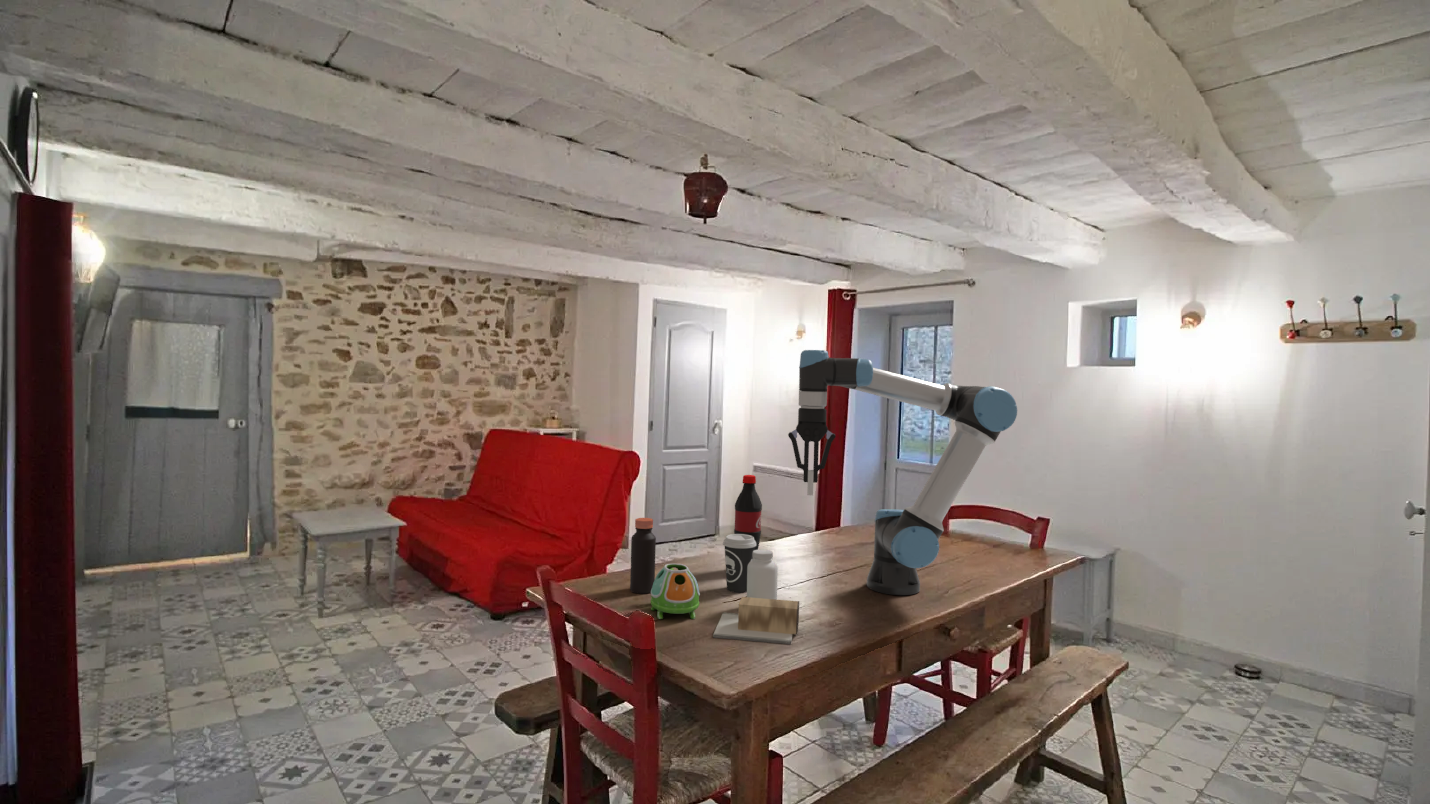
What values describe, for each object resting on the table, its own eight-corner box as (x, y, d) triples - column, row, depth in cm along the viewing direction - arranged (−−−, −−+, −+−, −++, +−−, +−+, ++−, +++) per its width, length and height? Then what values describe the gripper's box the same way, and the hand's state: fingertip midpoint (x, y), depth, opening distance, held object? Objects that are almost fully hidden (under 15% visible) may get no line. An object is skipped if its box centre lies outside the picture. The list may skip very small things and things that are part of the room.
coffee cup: (752, 595, 201) (754, 542, 200) (718, 592, 202) (720, 539, 202) (757, 586, 210) (759, 534, 209) (724, 583, 212) (726, 532, 211)
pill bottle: (744, 603, 194) (746, 547, 193) (774, 603, 194) (775, 547, 194) (748, 613, 186) (750, 555, 185) (779, 613, 187) (781, 555, 186)
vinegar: (659, 590, 203) (661, 519, 202) (641, 595, 198) (643, 522, 197) (643, 585, 207) (645, 515, 206) (625, 590, 202) (626, 518, 201)
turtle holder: (687, 598, 197) (689, 554, 196) (705, 620, 179) (706, 572, 179) (642, 600, 194) (643, 556, 193) (655, 623, 176) (657, 575, 176)
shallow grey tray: (794, 620, 181) (794, 618, 181) (791, 644, 165) (791, 641, 165) (723, 615, 184) (723, 612, 184) (712, 637, 168) (713, 634, 168)
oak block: (799, 601, 176) (741, 596, 178) (798, 609, 170) (738, 604, 172) (798, 625, 176) (741, 620, 178) (797, 634, 170) (738, 629, 172)
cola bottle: (764, 570, 227) (767, 475, 226) (751, 576, 220) (754, 477, 219) (741, 565, 232) (744, 472, 231) (727, 571, 225) (730, 475, 224)
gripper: (836, 407, 198) (834, 493, 199) (788, 406, 200) (786, 491, 201) (837, 408, 191) (835, 497, 192) (787, 407, 193) (785, 495, 193)
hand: (810, 494), depth 196 cm, fingers closed
